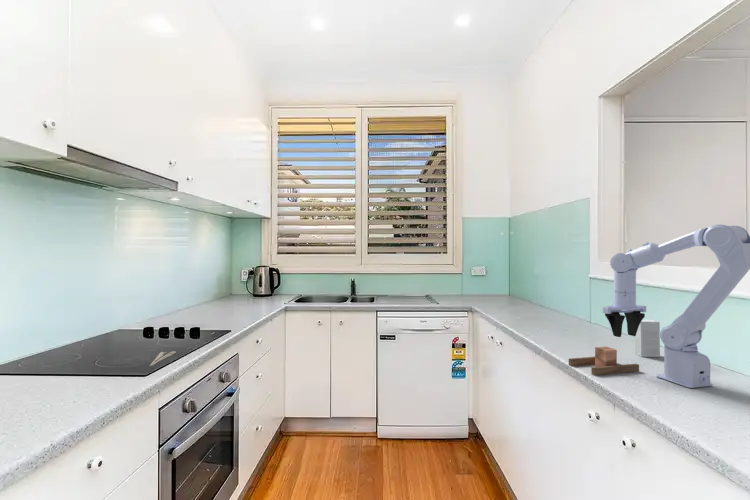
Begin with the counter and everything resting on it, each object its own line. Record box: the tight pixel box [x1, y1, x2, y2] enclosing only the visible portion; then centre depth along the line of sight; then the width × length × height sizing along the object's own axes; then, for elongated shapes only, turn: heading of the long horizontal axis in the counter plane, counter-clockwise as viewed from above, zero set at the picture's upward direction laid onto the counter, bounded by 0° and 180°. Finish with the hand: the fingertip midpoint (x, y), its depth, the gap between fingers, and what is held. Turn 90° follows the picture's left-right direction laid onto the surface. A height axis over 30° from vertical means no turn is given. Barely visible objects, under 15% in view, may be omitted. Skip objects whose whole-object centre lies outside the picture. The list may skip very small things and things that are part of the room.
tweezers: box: [150, 350, 177, 367], centre depth 122 cm, size 18×5×2 cm, turn 7°
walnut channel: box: [568, 356, 640, 376], centre depth 115 cm, size 10×16×2 cm, turn 104°
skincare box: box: [634, 319, 661, 358], centre depth 129 cm, size 6×4×12 cm
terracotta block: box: [594, 346, 618, 367], centre depth 116 cm, size 4×4×6 cm
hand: (624, 335), depth 117 cm, fingers open, 5 cm apart
